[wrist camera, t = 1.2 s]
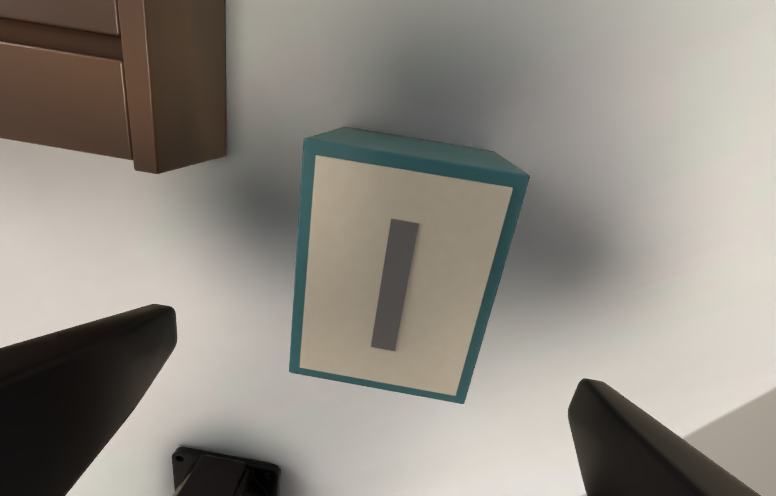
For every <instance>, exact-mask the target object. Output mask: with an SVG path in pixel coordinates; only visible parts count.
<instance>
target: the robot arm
mask: <svg viewBox="0 0 776 496" xmlns="http://www.w3.org/2000/svg"><path fill="white" fill-rule="evenodd" d="M176 343H177V326H176V313H175V310H174V309H173V308H172V307H170V306H165V305H159V304H151V305H148V306H144V307H141V308H137V309H134V310H130V311H127V312H123V313H120V314H117V315H113V316H110V317H106V318H103V319H99V320H96V321H92V322H89V323H85V324H82V325H79V326H75V327H72V328H68V329H65V330H61V331H58V332H54V333H51V334H47V335H44V336H41V337H37V338H34V339H30V340H27V341H23V342H20V343H16V344H13V345H10V346H6V347H3V348H0V496H65V495H66V494H67V493H68V491H69V490H70V489H71V488H72V487H73V485H74V484H75V483H76V482H77V480H78V479H79V478H80V477H81V475H82V474H83V473H84V472H85V470H86V469H87V468H88V467H89V465H90V464H91V463H92V462H93V460H94V459H95V458H96V457H97V455H98V454H99V453H100V452H101V450H102V449H103V448H104V447H105V445H106V444H107V443H108V442H109V440H110V439H111V438H112V437H113V436H114V434H115V433H116V432H117V431H118V429H119V428H120V427H121V426H122V424H123V423H124V422H125V421H126V419H127V418H128V417H129V415H130V414H131V413H132V411H133V410H134V409H135V407H136V406H137V405H138V403H139V402H140V400H141V399H142V397H143V396H144V394H145V393H146V391H147V390H148V388H149V387H150V385H151V384H152V382H153V381H154V379H155V378H156V376H157V374H158V373H159V371H160V370H161V368H162V367H163V365H164V364H165V362H166V361H167V359H168V358H169V356H170V355H171V353H172V352H173V350H174V348H175V346H176ZM568 419H569V424H570V428H571V432H572V436H573V441H574V445H575V449H576V453H577V457H578V462H579V466H580V470H581V474H582V479H583V482H584V486H585V490H586V493H587V496H760V495H759V494H758V493H756V492H755V491H754V490H752V489H751V488H749V487H748V486H746V485H745V484H744V483H743V482H741V481H740V480H738V479H737V478H736V477H734V476H733V475H731V474H730V473H729V472H727V471H726V470H725V469H723V468H722V467H720V466H719V465H718V464H716V463H715V462H714V461H712V460H711V459H709V458H708V457H706V456H705V455H704V454H702V453H701V452H700V451H698V450H697V449H695V448H694V447H693V446H691V445H690V444H688V443H687V442H686V441H685V440H683V439H682V438H680V437H679V436H678V435H676V434H675V433H673V432H672V431H671V430H669V429H668V428H667V427H665V426H664V425H662V424H661V423H660V422H658V421H657V420H656V419H654V418H653V417H651V416H650V415H649V414H647V413H646V412H644V411H643V410H642V409H640V408H639V407H638V406H636V405H635V404H633V403H632V402H631V401H629V400H628V399H627V398H625V397H624V396H622V395H621V394H620V393H618V392H617V391H615V390H614V389H613V388H611V387H610V386H609V385H607V384H606V383H604V382H602V381H597V380H592V379H582V380H581V381H580V382H579V384H578V386H577V389H576V391H575V393H574V396H573V398H572V401H571V403H570V405H569V409H568ZM172 464H173V475H174V486H175V492H174V494H173V496H279V492H280V475H281V470H280V468H279V467H278V466H277V465H275V464H271V463H266V462H260V461H255V460H250V459H245V458H239V457H234V456H229V455H223V454H218V453H213V452H208V451H202V450H197V449H192V448H186V447H178V448H177V449H176V451H175V452H174V453H173V455H172Z"/></svg>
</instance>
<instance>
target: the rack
mask: <svg viewBox="0 0 776 496" xmlns="http://www.w3.org/2000/svg"><path fill="white" fill-rule="evenodd" d="M0 138H3V139H9V140H15V141H21V142H27V143H33V144H39V145H45V146H51V147H57V148H63V149H68V150H74V151H80V152H86V153H92V154H98V155H104V156H110V157H116V158H122V159H128V160H134V169H135V170H136V171H142V172H148V173H154V174H160V173H163V172H167V171H171V170H175V169H179V168H182V167H186V166H190V165H194V164H198V163H201V162H205V161H209V160H213V159H217V158H220V157H224V156H226V90H225V0H0Z"/></svg>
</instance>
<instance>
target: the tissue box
mask: <svg viewBox="0 0 776 496" xmlns="http://www.w3.org/2000/svg"><path fill="white" fill-rule="evenodd" d="M529 179H530V175H528V174H527V173H525V172H524V171H522V170H521V169H519V168H518V167H516V166H515V165H513V164H512V163H510V162H509V161H507V160H506V159H504V158H503V157H501V156H500V155H498V154H497V153H495V152H494V151H489V150H483V149H477V148H471V147H465V146H459V145H453V144H446V143H440V142H434V141H428V140H422V139H416V138H410V137H404V136H398V135H391V134H385V133H379V132H373V131H367V130H361V129H355V128H349V127H342V128H339V129H335V130H332V131H328V132H325V133H322V134H318V135H315V136H311V137H308V138H305V139H304V145H303V161H302V177H301V192H300V208H299V223H298V239H297V255H296V270H295V286H294V302H293V317H292V333H291V349H290V364H289V372H291V373H296V374H302V375H307V376H312V377H318V378H323V379H329V380H334V381H340V382H345V383H351V384H356V385H362V386H367V387H373V388H378V389H384V390H389V391H395V392H400V393H406V394H411V395H417V396H422V397H428V398H433V399H439V400H444V401H450V402H455V403H461V404H464V402H465V399H466V395H467V392H468V389H469V385H470V382H471V378H472V375H473V371H474V368H475V364H476V361H477V358H478V354H479V351H480V347H481V344H482V340H483V337H484V333H485V330H486V327H487V323H488V320H489V316H490V313H491V309H492V306H493V303H494V299H495V296H496V292H497V289H498V285H499V282H500V278H501V275H502V272H503V268H504V265H505V261H506V258H507V254H508V251H509V247H510V244H511V241H512V237H513V234H514V230H515V227H516V223H517V220H518V217H519V213H520V210H521V206H522V203H523V199H524V196H525V192H526V189H527V186H528V182H529Z"/></svg>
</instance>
